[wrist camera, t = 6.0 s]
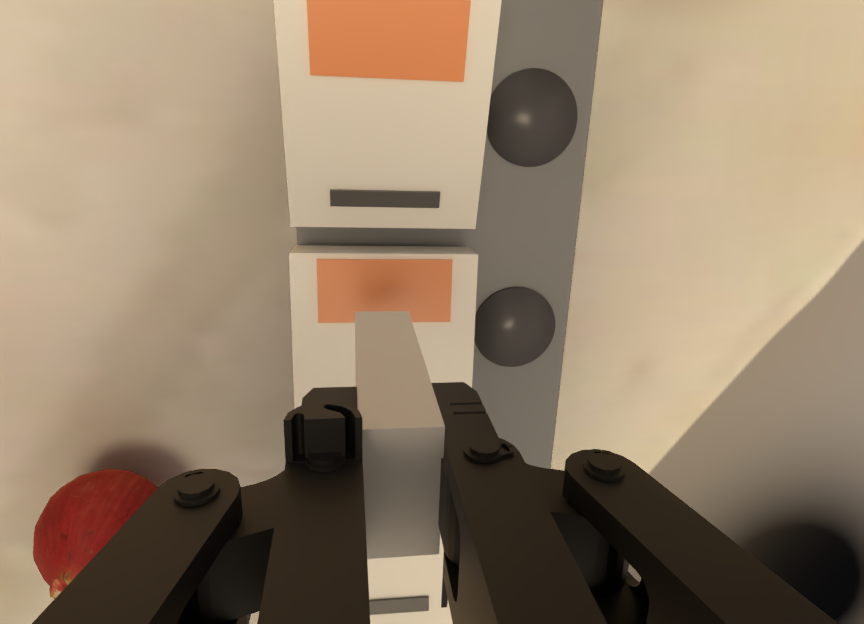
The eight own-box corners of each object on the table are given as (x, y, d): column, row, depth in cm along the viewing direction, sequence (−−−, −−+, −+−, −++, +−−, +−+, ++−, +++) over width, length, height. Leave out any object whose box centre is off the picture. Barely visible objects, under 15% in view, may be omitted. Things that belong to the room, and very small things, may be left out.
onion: (192, 447, 32) (141, 549, 25) (182, 534, 34) (131, 654, 26) (77, 433, 31) (-12, 535, 23) (73, 523, 33) (-12, 645, 25)
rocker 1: (295, 205, 23) (289, 228, 22) (279, -25, 19) (271, -20, 17) (467, 208, 24) (475, 230, 22) (490, -12, 20) (503, -5, 18)
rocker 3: (306, 611, 27) (301, 640, 25) (304, 442, 27) (299, 456, 25) (454, 601, 28) (462, 628, 26) (455, 437, 28) (463, 450, 25)
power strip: (318, 570, 36) (311, 656, 30) (300, 4, 26) (284, -28, 20) (510, 559, 37) (538, 638, 31) (561, 19, 27) (614, -6, 22)
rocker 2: (300, 430, 25) (295, 454, 23) (294, 245, 23) (288, 253, 21) (461, 425, 26) (469, 448, 24) (468, 246, 24) (479, 254, 22)
